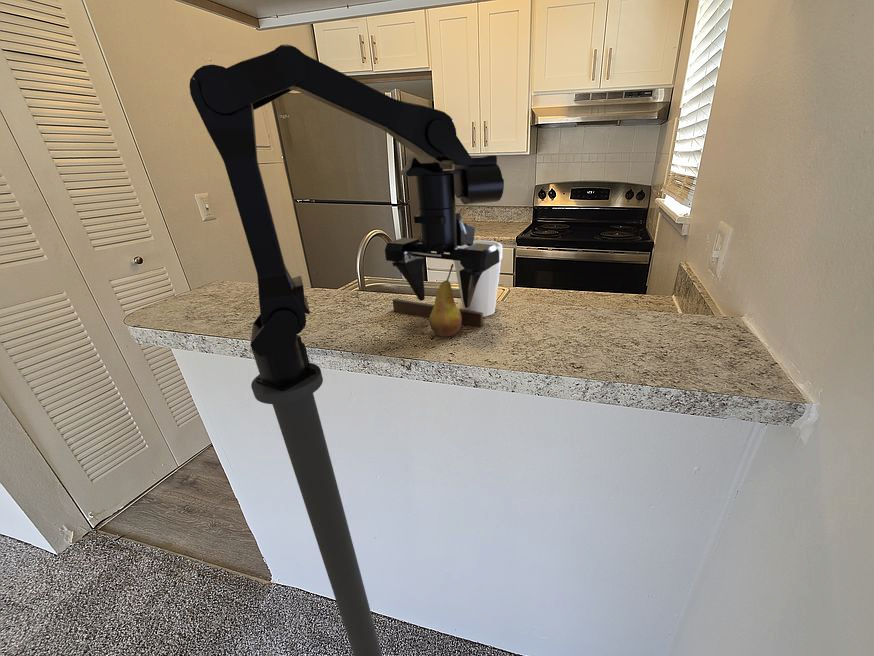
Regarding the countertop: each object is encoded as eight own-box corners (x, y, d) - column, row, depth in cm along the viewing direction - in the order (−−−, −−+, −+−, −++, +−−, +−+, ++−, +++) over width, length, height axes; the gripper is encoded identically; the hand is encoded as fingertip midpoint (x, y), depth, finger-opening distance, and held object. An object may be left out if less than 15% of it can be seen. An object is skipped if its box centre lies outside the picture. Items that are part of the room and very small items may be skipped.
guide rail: (481, 327, 74) (480, 314, 73) (393, 311, 82) (392, 300, 81) (483, 325, 75) (483, 312, 73) (396, 310, 83) (395, 298, 82)
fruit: (428, 330, 73) (422, 264, 68) (459, 326, 74) (456, 261, 69) (432, 342, 69) (425, 273, 63) (465, 338, 70) (462, 270, 64)
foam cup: (481, 300, 87) (479, 238, 81) (512, 310, 81) (512, 244, 75) (446, 311, 81) (441, 246, 75) (476, 324, 75) (474, 254, 69)
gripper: (513, 202, 64) (512, 295, 72) (417, 199, 72) (425, 284, 79) (481, 212, 56) (484, 317, 63) (376, 207, 63) (389, 302, 71)
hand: (444, 303), depth 69 cm, fingers open, 9 cm apart
